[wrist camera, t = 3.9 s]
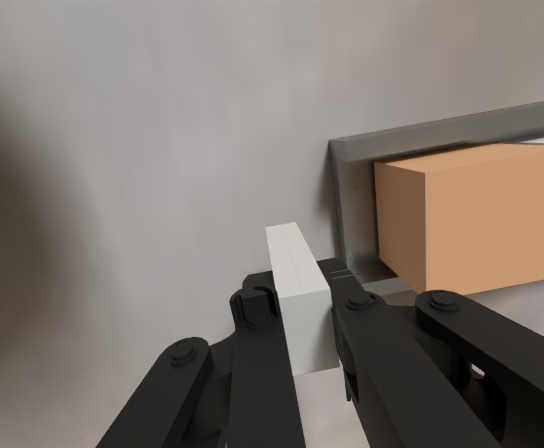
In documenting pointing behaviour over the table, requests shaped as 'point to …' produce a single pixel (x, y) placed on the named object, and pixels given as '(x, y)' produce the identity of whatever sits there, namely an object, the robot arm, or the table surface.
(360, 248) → the base
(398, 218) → the tan cardboard-like brick
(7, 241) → the table surface
